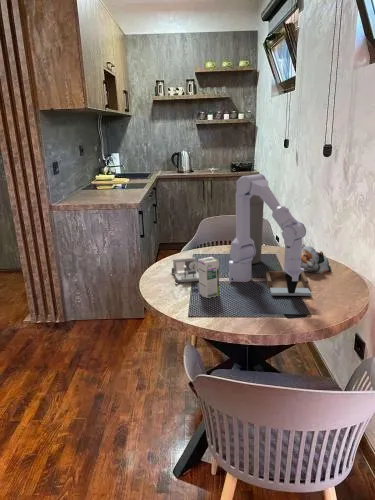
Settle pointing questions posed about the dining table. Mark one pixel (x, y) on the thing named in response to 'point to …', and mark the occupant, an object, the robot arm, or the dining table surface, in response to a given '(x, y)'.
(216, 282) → the syrup box
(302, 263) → the lucky cat figurine
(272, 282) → the brown shallow open box
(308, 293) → the cabinet door
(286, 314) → the phone
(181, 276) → the grey small appliance
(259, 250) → the canister
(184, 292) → the dining table surface
